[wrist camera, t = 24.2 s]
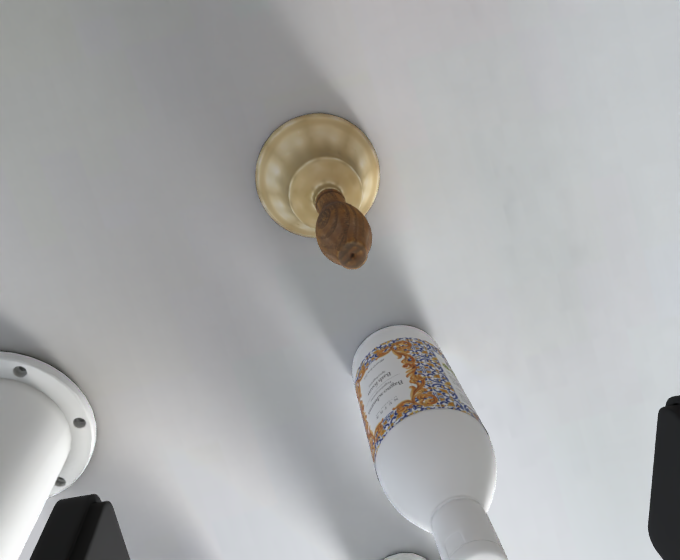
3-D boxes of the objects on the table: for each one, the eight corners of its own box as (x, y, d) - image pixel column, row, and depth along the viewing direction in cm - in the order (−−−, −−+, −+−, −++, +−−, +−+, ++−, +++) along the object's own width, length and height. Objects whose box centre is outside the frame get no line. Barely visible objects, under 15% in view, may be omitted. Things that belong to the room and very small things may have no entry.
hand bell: (388, 120, 40) (459, 166, 25) (370, 241, 43) (424, 346, 28) (260, 105, 39) (256, 143, 24) (250, 231, 42) (242, 334, 27)
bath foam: (396, 304, 45) (487, 488, 26) (458, 358, 47) (582, 563, 28) (331, 368, 46) (374, 586, 27) (395, 418, 48) (474, 651, 30)
